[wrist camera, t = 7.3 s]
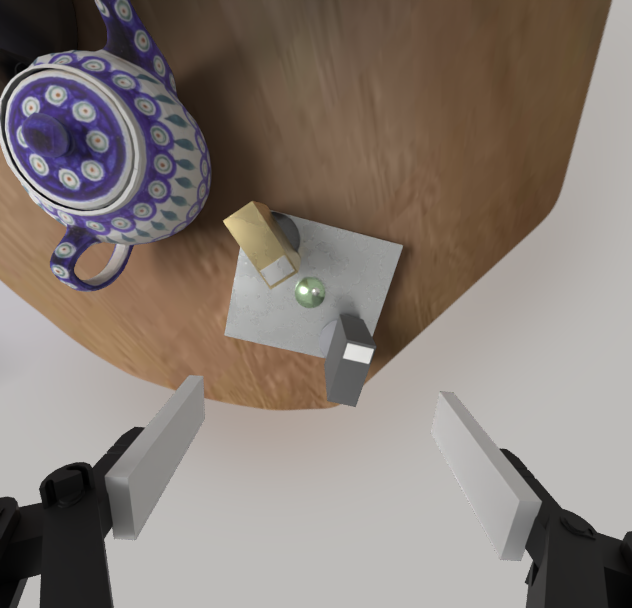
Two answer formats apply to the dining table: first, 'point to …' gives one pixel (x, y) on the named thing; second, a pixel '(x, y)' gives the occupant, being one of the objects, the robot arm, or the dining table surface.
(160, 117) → the teapot
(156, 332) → the dining table surface
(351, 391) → the dark grey block
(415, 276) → the dining table surface
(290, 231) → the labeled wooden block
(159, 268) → the dining table surface
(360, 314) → the plate
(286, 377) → the dining table surface
